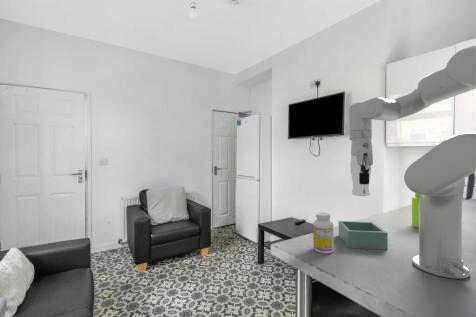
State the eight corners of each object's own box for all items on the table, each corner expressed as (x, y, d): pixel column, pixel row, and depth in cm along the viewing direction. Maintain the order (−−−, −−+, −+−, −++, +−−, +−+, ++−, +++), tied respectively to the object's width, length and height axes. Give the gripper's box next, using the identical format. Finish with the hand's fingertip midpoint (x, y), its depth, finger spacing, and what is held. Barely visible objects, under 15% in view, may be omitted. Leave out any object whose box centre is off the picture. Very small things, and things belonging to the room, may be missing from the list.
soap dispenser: (413, 228, 105) (413, 183, 105) (410, 223, 111) (410, 182, 111) (430, 229, 103) (430, 184, 102) (426, 225, 109) (426, 182, 108)
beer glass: (366, 193, 92) (366, 155, 92) (374, 196, 85) (374, 155, 85) (347, 193, 93) (347, 155, 93) (354, 196, 86) (354, 155, 86)
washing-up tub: (387, 249, 82) (387, 232, 82) (348, 247, 84) (348, 231, 84) (372, 236, 95) (372, 222, 95) (338, 235, 97) (338, 221, 97)
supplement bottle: (317, 245, 87) (317, 210, 87) (336, 249, 83) (336, 213, 82) (310, 251, 82) (310, 214, 82) (329, 256, 77) (329, 217, 77)
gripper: (381, 133, 80) (381, 186, 80) (362, 137, 97) (362, 180, 97) (357, 134, 81) (358, 186, 81) (343, 137, 98) (343, 180, 98)
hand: (360, 182), depth 89 cm, fingers closed on beer glass, 6 cm apart
